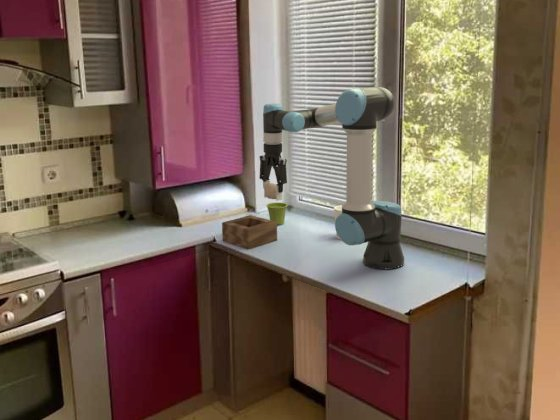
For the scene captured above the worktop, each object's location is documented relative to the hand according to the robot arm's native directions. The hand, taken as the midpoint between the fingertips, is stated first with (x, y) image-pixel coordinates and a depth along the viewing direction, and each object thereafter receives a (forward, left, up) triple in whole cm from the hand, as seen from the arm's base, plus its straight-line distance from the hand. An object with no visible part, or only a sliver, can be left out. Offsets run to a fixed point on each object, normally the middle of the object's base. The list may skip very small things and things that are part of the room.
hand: (273, 198), depth 265 cm
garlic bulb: (0, 0, -1) cm, 1 cm away
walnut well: (+6, +8, -18) cm, 20 cm away
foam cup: (-20, -22, -18) cm, 35 cm away
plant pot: (+16, -18, -18) cm, 29 cm away
